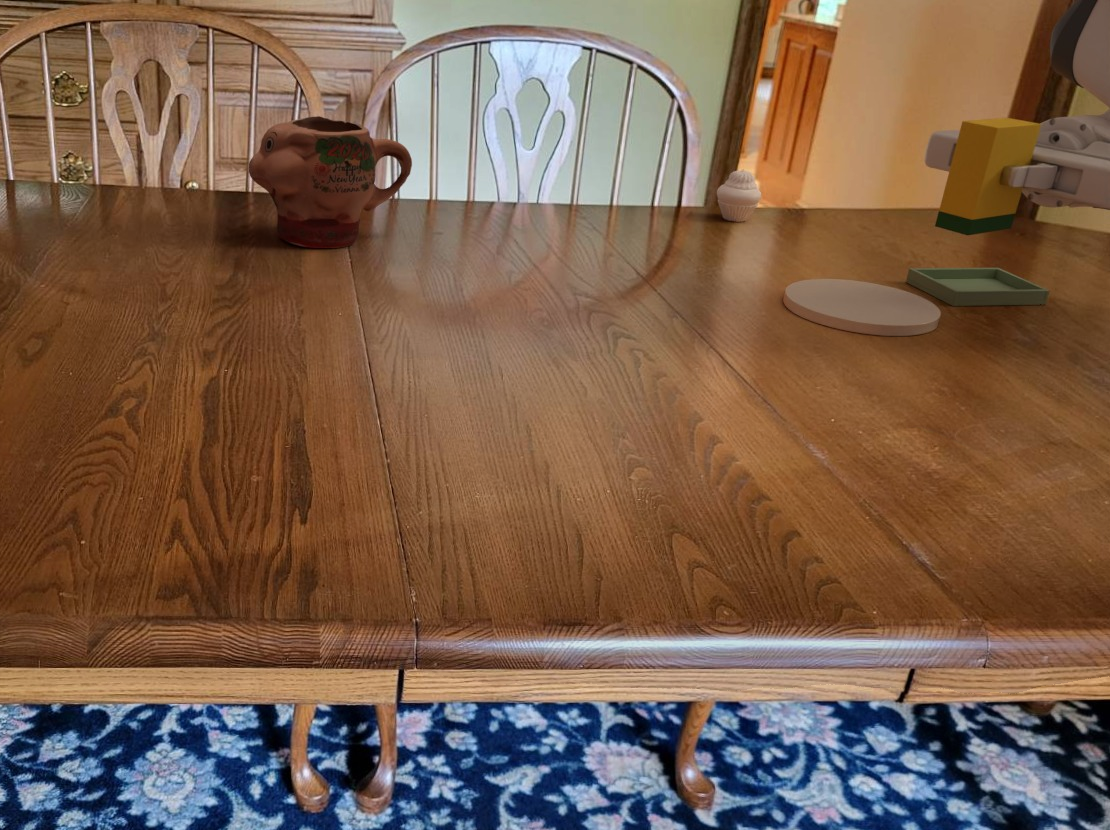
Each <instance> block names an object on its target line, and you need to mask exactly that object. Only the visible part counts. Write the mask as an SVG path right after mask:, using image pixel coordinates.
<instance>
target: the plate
mask: <svg viewBox="0 0 1110 830" xmlns="http://www.w3.org/2000/svg"><path fill="white" fill-rule="evenodd" d="M782 301H783V304H784V306H785V307H786V308H787V309H788V310H789V311H790V312H791V313H793V314H795V315H797V316H799V317H801V318H803V319H804V320H808V321H810V322H813V323H816V324H818V325H822V326H825V327H828V328H833V329H837V330H840V331H845V332H851V333H857V334H862V335H863V334H864V335H872V336H882V337H883V336H884V337H885V336H886V337H908V336H919V335H924V334H928V333H931V332H932V331H934V330H935V329H937V328H938V326H939V324H940V320H941V316H942V311H941V309H940V308H939V307H938V306H937V305H936V304H935V303H933V302H931V301H930V300H929V299H926V298H925V297H923V296H921V295H917V294H915V293H912V292H909V291H907V290H903V289H900V288H896V287H892V286H888V285H883V284H880V283H873V282H868V281H862V280H861V281H860V280H853V279H842V278H841V279H839V278H812V279H811V278H810V279H803V280H799V281H795V282H793V283H790V284H788V285H787V286H786V288H785V289H784V293H783V298H782Z"/></svg>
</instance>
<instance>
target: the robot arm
mask: <svg viewBox="0 0 1110 830" xmlns="http://www.w3.org/2000/svg"><path fill="white" fill-rule="evenodd" d="M1049 53H1050V54H1049V55H1050V64H1051V68H1052V70H1053V71H1054V72H1055V73H1056V74H1058V75H1060V76H1061V77H1062V78H1065V79H1066V80H1068V81H1069V82H1071V83H1073V84H1075V85H1076V86H1078V87H1079V88H1082V89H1085V90H1086V91H1087V92H1088V93H1090V94H1091V95H1093V96H1094V97H1095V98H1096V99H1098V100H1099V101H1100V102H1102V103H1103V104H1104V105H1105V106H1107V107H1108V110H1106V111H1105V112H1104V113H1101V114H1085V115H1073V116H1071V115H1070V116H1060V117H1059V116H1058V117H1054V118H1050V119H1046V120H1045V121H1042V122H1041V123H1039V124H1041V128H1040V131H1039V134H1038V138H1037V141H1036V145H1035V148H1034V152H1033V155H1032V158H1031V162H1030V165H1029V166H1020V165H1006V166H1005V167H1004V168H1003V170H1002V173H1001V174H1002V176H1001V177H1000V180H999V183H1000V184H1002V185H1006V186H1010V187H1023V189H1022V193H1021V194H1023V195H1024V196H1025V197H1026V198H1027V199H1028V200H1030V201H1031V202H1032V203H1034V204H1036V205H1038V206H1041V207H1045V208H1062V207H1068V208H1083V207H1085V208H1093V209H1101V210H1106V211H1110V0H1074V2H1073V3H1072V4H1071V5H1070V6H1069V7H1068V8H1067V9H1066V11H1065V12H1064V13H1063V14H1062V15H1061V17H1060V18H1059V19H1058V20H1057V22H1056V23H1055V24H1054V26H1053V29H1052V32H1051V36H1050V42H1049ZM959 132H960V129H956V130H955V129H954V130H953V129H952V130H950V129H949V130H936V131H933V133H931V135H930V137H929V139H928V142H927V146H926V148H925V154H924V164H925V166H926V167H928V168H931V169H934V170H935V169H936V170H938V171H939V170H940V171H945V172H948V173H949V171H950V167H951V163H952V159H953V155H954V152H955V148H956V144H957V140H958V136H959Z"/></svg>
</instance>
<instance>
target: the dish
mask: <svg viewBox="0 0 1110 830" xmlns="http://www.w3.org/2000/svg"><path fill="white" fill-rule="evenodd" d="M905 282H906V283H907V284H909V285H910V286H912V287H915V288H917V289H918V290H921V291H922V292H923V293H924V292H925V293H926V294H928V295H930V296H932V297H934V298H936V299H938V300H940V301H942V302H944V303H945V304H948V305H950V306H952V307H972V306H973V307H979V306H980V307H981V306H982V307H983V306H984V307H985V306H986V307H987V306H1039V305H1040V304H1041V305H1040V306H1046V305H1047V301H1048V298H1049V295H1050V292H1051V290H1050V289H1047V288H1045V287H1043V286H1041V285H1038V284H1037V283H1034V282H1032V281H1029V280H1028V279H1025V278H1022V277H1020V276H1018V275H1016V274H1013V273H1011V272H1009V271H1007V270H1004V269H1002V268H1000V267H922V268H921V267H919V268H918V267H917V268H915V267H914V268H913V267H909V268H908V271H907V275H906V281H905ZM1045 304H1046V305H1045Z"/></svg>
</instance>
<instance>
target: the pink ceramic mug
mask: <svg viewBox="0 0 1110 830" xmlns="http://www.w3.org/2000/svg"><path fill="white" fill-rule="evenodd" d="M260 143H261V144H260V147H259V149H258V152H257V153H256V154H254V155H253V156H252V157H251V159H250V160H249V162H248V174H249V176H250V178H251V179H252V181H253V182H254V183H256V184H257V185H258V186H260V187H261V188H263V189H264V190H265V191H266V192H267V193H268V194H269V195H270V197H271V199H272V201H273V203H274V206H275V208H276V213H277V220H276V232H277V235H278V237H279V238H280V239H282V240H284V241H285V242H286V243H289V244H291V245H292V244H293V245H295V246H300V247H303V248H312V249H314V248H315V249H331V248H332V249H334V248H335V249H336V248H344V247H345V248H346V247H350V246H352V244H354V243H355V242H356V241H357V238H358V235H359V229H360V224H361V223H360V222H361V213H362V210H364V211H366V212H371V211H373V210H374V209H376V208H377V207H379V206H380V205H382V204H383V203H385V202H387V201H388V200H389V199H391V198H392V197H393V196H394V195H395V194H396V193H398V192H399V191H400V189H401V188H402V186H403V185H404V184H405V183H406V181H407V179H408V177H409V176H410V175H411V171H412V167H413V160H412V157H411V153H410V152H409V150H408V149H407V148H406V146H404V145H403V144H402V143H400V142H399V141H396V140H393V139H389V138H372V137H371V134H370V131H369V128H366V127H365V126H363V125H362V124H359V123H353V122H349V121H346V120H337V119H330V118H327V117H322V116H319V115H318V116H317V115H316V116H309V117H304V118H298V119H293V120H289V121H286V122H280V123H277V124H274V125H273V126H270V127H269V128H268V129H267V130H266V132H265V133H264V134H263V136H262V138H261V142H260ZM384 157H392V158H394V159H395V160H396V161H397V162H398V164H399V166H400V167H399V168H400V173H399V175H398V177H397V178H396V179H395V181H394V182H393V183H392V184H391V185H390V186H388V187H386V188H379V187H378V186H377V185H376V184H375V183H376V178H377V176H376V175H377V173H376V170H377V169H376V167H377V164H378V162H379V161H380V160H381V159H382V158H384Z"/></svg>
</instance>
